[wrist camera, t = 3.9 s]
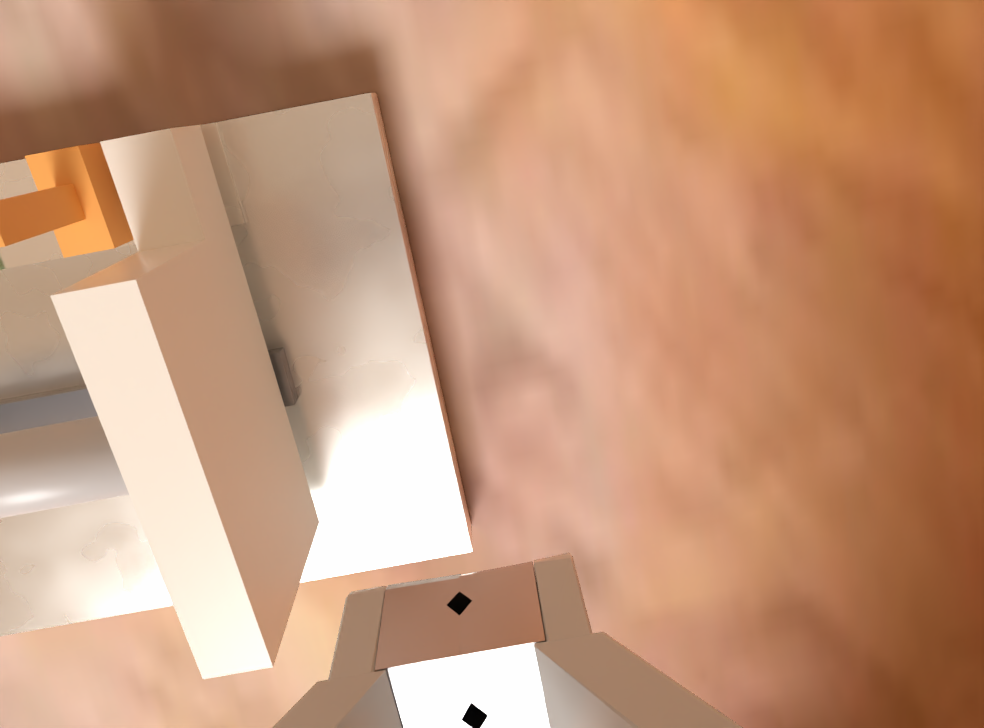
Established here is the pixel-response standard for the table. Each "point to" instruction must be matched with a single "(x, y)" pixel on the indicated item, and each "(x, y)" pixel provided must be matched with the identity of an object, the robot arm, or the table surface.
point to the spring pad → (180, 412)
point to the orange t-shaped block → (68, 203)
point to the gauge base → (293, 353)
